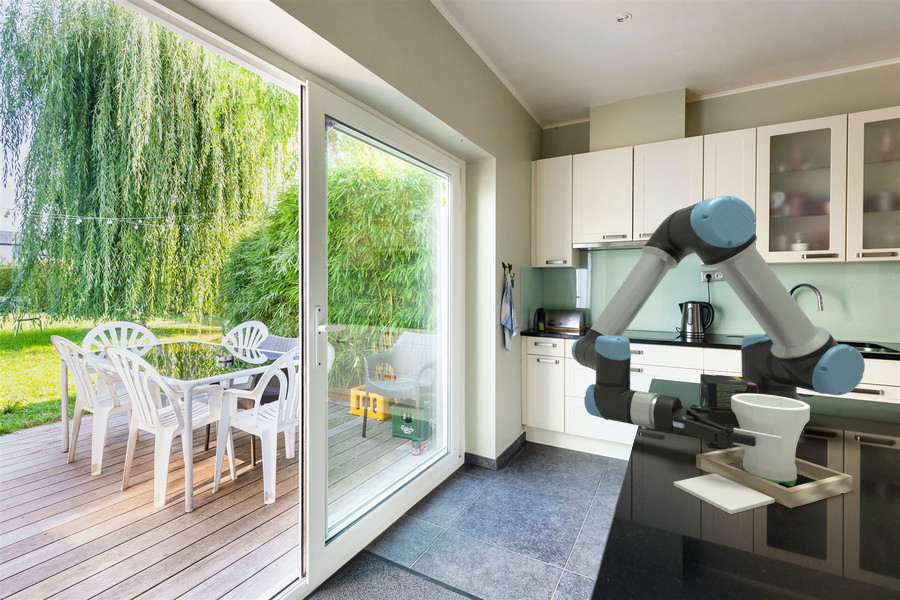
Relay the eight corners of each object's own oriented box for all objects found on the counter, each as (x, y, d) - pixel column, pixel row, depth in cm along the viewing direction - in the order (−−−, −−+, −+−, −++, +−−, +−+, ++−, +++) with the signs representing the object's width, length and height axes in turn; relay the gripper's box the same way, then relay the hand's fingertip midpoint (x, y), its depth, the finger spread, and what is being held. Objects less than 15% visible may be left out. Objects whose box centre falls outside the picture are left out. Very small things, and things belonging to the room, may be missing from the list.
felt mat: (714, 476, 73) (714, 473, 73) (774, 502, 64) (774, 498, 64) (673, 485, 70) (673, 482, 70) (730, 514, 60) (730, 510, 60)
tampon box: (759, 454, 83) (759, 384, 83) (708, 448, 87) (707, 381, 87) (745, 437, 93) (745, 375, 93) (699, 432, 97) (699, 372, 97)
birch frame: (752, 456, 82) (752, 444, 82) (852, 490, 67) (852, 476, 67) (696, 467, 77) (696, 454, 77) (790, 508, 62) (790, 492, 62)
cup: (718, 465, 78) (717, 393, 78) (776, 465, 78) (775, 393, 78) (760, 493, 67) (760, 409, 67) (829, 493, 66) (828, 409, 66)
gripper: (675, 416, 94) (793, 438, 79) (635, 444, 77) (777, 479, 62) (675, 385, 94) (793, 401, 79) (635, 405, 77) (776, 431, 62)
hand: (786, 435), depth 70 cm, fingers open, 13 cm apart
